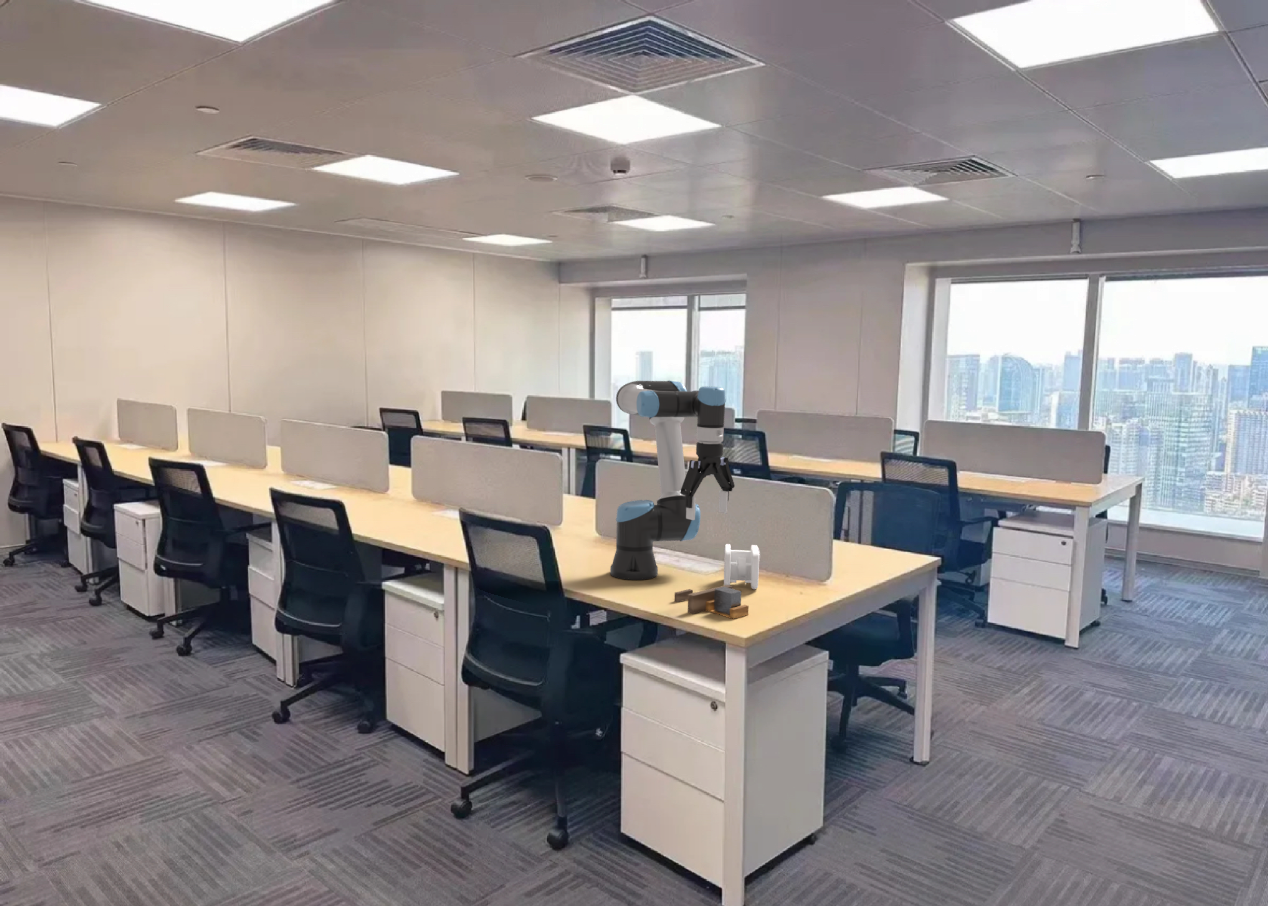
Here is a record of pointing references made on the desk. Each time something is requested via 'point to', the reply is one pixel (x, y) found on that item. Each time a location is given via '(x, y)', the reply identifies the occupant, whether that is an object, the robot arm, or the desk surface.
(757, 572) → the cable organizer
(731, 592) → the block
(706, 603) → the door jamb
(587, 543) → the desk surface
